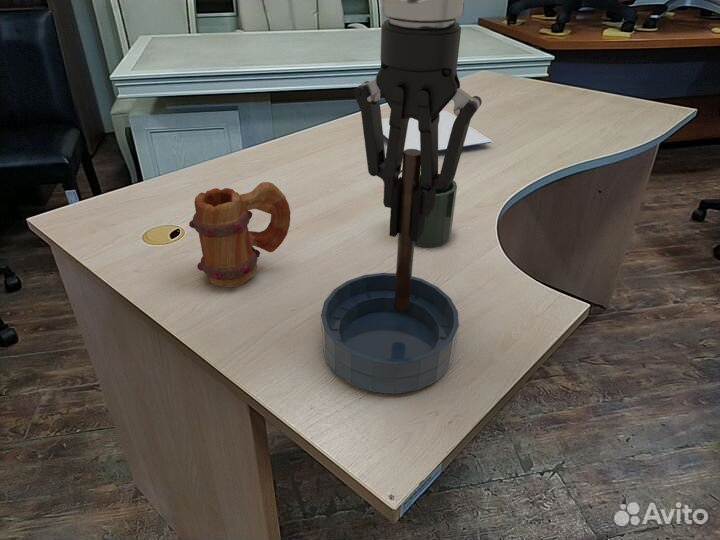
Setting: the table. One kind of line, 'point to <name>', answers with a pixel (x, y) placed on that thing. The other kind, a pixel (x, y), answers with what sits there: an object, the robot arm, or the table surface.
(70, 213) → the table surface
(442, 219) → the holder
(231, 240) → the mug
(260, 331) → the table surface
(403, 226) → the stick
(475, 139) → the plate
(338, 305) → the bowl
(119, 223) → the table surface
